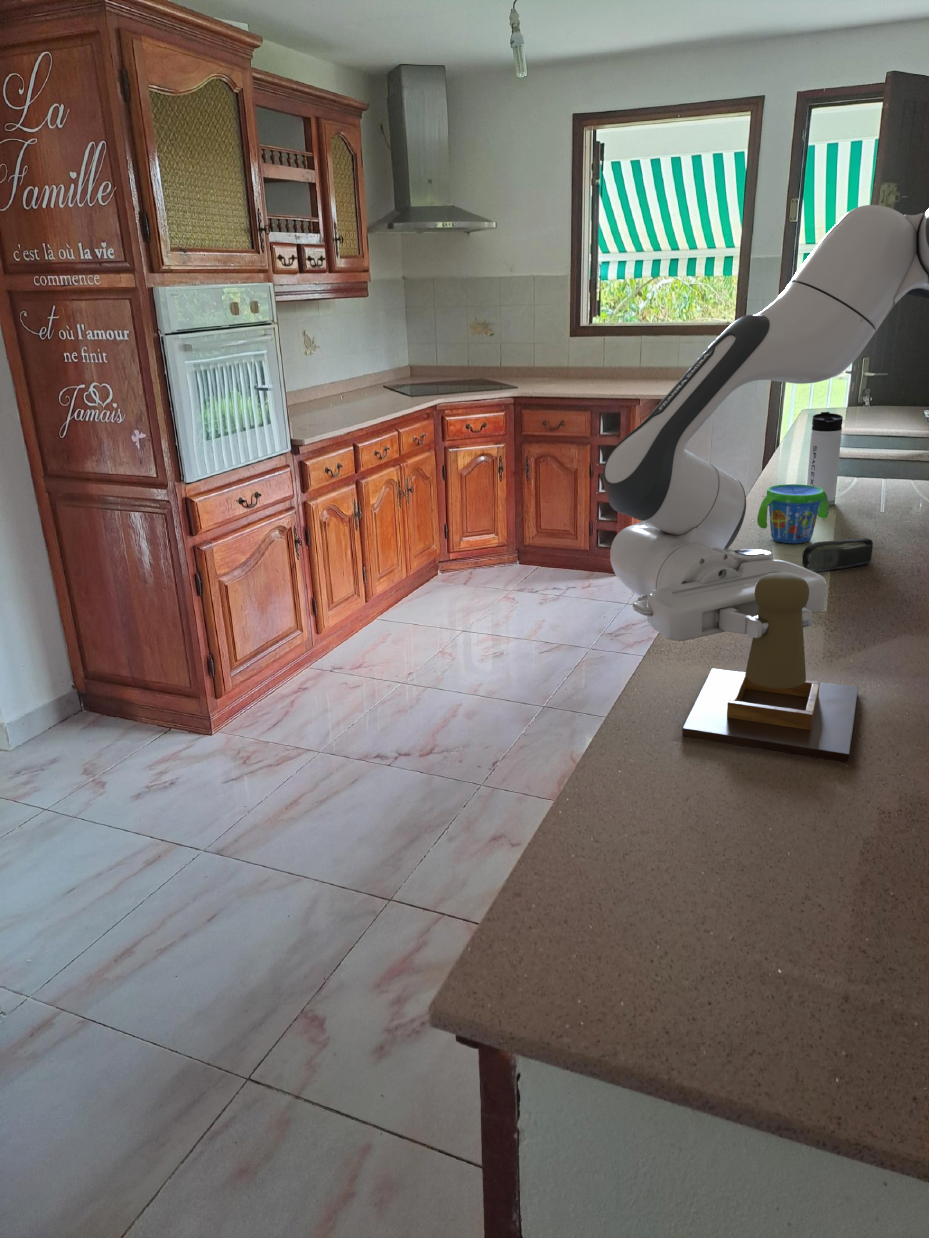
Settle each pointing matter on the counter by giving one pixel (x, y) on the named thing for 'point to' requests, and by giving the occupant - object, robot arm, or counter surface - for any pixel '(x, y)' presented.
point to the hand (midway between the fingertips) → (785, 625)
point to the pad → (775, 715)
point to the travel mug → (825, 453)
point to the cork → (779, 632)
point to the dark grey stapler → (837, 554)
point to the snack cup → (793, 511)
